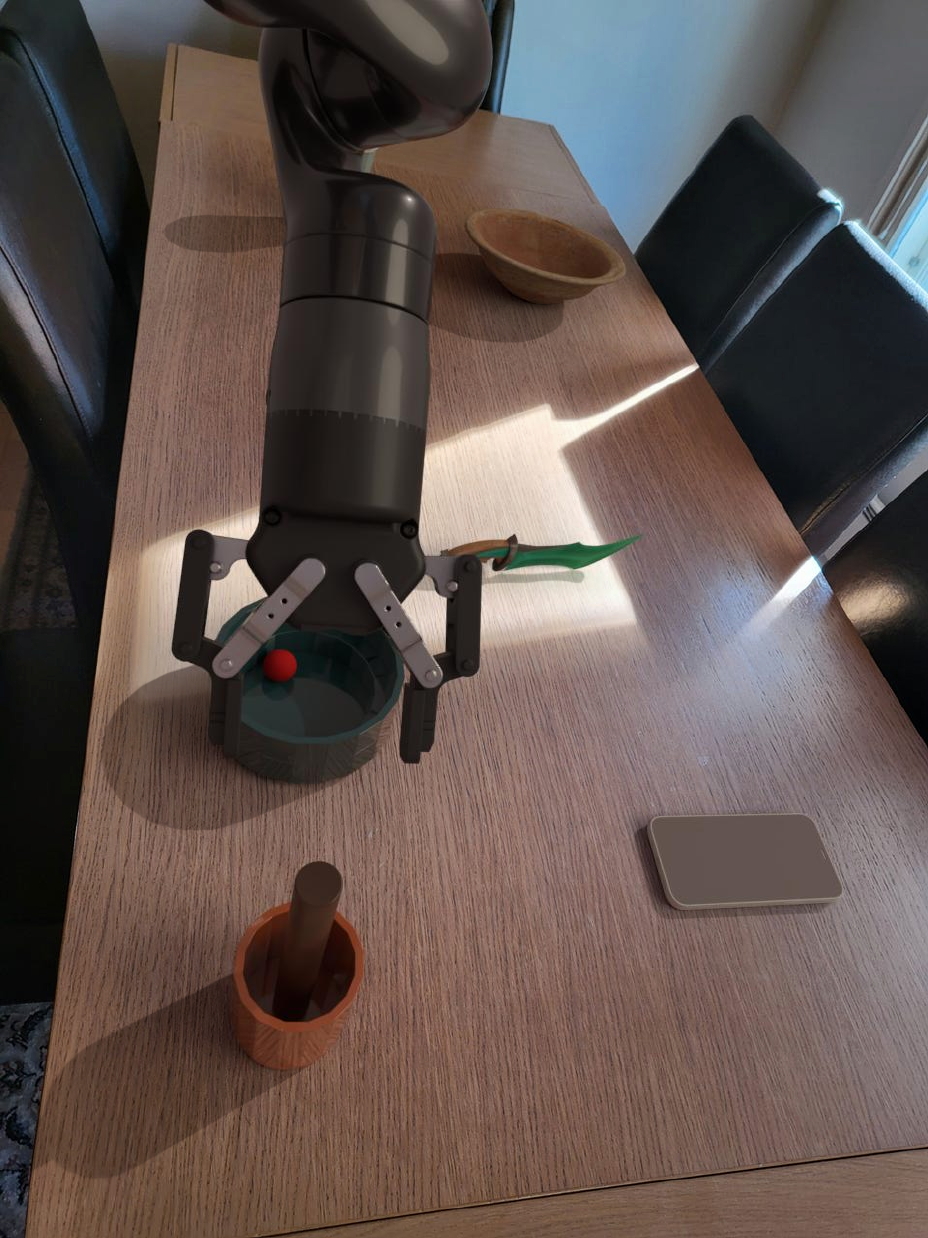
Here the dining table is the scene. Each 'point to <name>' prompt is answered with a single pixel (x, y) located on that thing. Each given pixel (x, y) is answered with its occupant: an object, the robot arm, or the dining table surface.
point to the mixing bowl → (316, 702)
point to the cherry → (279, 665)
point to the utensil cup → (256, 989)
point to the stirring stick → (306, 938)
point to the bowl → (542, 255)
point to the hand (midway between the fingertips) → (322, 757)
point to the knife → (537, 553)
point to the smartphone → (742, 860)
